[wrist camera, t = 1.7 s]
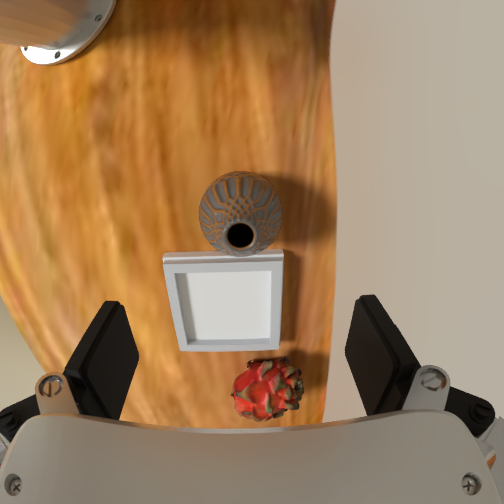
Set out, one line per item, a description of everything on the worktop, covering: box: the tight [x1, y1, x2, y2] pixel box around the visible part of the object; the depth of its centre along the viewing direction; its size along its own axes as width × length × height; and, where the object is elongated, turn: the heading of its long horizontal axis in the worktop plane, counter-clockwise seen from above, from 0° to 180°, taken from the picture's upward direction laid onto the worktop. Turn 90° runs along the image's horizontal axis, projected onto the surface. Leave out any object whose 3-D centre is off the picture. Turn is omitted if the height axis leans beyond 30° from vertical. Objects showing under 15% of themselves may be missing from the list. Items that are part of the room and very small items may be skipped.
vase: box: [199, 171, 283, 257], centre depth 24 cm, size 7×7×9 cm
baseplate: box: [163, 249, 284, 351], centre depth 31 cm, size 12×12×2 cm
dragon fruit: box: [231, 357, 304, 422], centre depth 34 cm, size 8×8×12 cm
